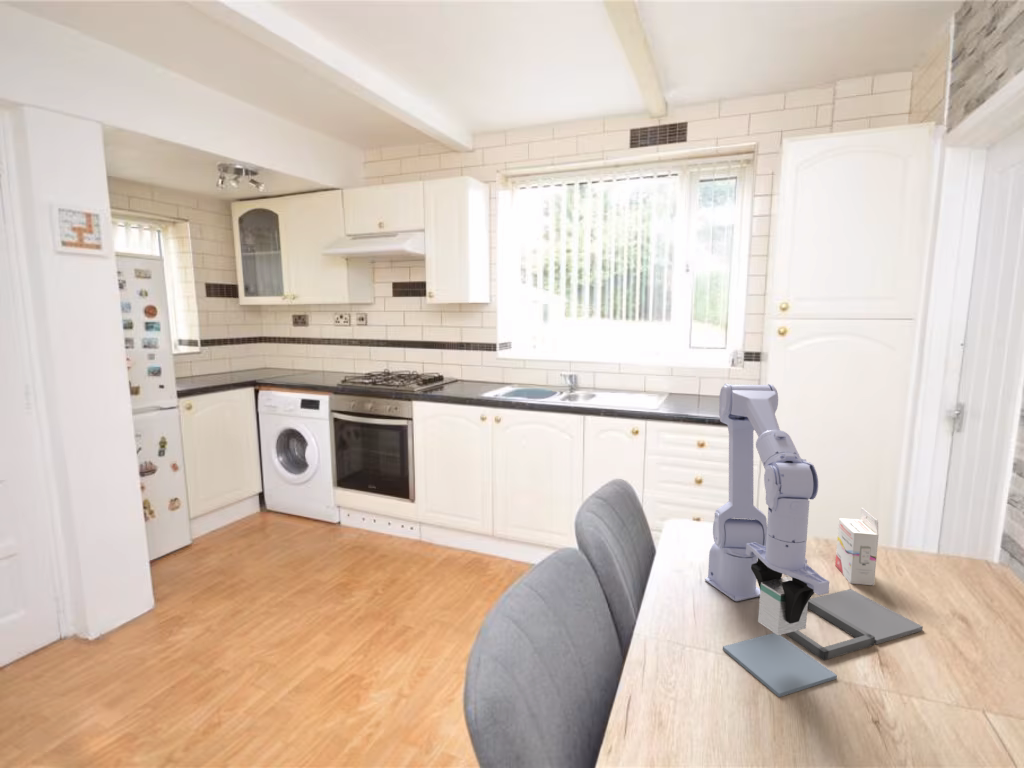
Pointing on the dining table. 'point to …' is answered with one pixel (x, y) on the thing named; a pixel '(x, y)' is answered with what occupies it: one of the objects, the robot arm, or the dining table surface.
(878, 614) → the hinged gray frame
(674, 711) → the dining table surface
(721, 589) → the robot arm
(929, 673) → the dining table surface
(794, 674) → the pad
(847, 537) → the ink cartridge box
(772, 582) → the block
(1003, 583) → the dining table surface
